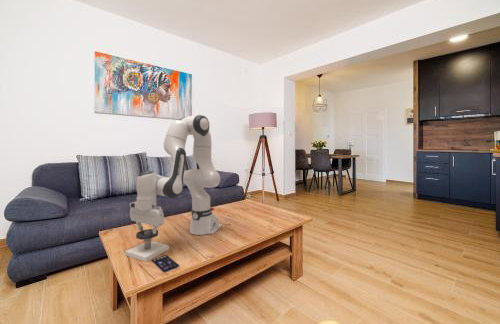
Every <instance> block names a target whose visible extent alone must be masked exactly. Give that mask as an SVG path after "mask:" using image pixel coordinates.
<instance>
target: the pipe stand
mask: <svg viewBox="0 0 500 324" xmlns="http://www.w3.org/2000/svg"><path fill="white" fill-rule="evenodd" d="M147 234H151V231H145V232H144V235H147ZM168 250H170V246H169V245H168V244H164V243H160V242H157V241H153V240H152V238H150V239H144V240H143V243H141V244H138V245H137V246H134V247H132V248H130V249H128V250H127V249H126V250H125V253H124V254H125V256H127V257H129V258H134V259H136V260H139V261H141V262H144V263H145V262H148V261H151V260H152V259H155V258H157V256H159V255H162V254H163V253H165V252H167V251H168Z"/></svg>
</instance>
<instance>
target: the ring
mask: <svg viewBox="0 0 500 324" xmlns="http://www.w3.org/2000/svg"><path fill="white" fill-rule="evenodd" d="M151 230H153V228H149V229H143V230H141V231H140V230H139V231H138V232H136V235H135V236H136V237H135V238H136V239H138V240H142V241H144V239H150V238H151V239H153V238H156V237H158V235H159V229H157V230H156V233H155V234H152V233H151V234H147V235H144V232H145V231H151Z"/></svg>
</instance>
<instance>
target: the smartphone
mask: <svg viewBox="0 0 500 324" xmlns="http://www.w3.org/2000/svg"><path fill="white" fill-rule="evenodd" d="M150 261H151V263H153V264H154V266H155V267H156V268H157V269H159V270H160V271H161V272H162V274H163V273H164V274H166V273H168V272H171V271H173V270H176V269H179V268H180V266H181V265H180V264H179V263H177V262H176V261H175V260H174V259H172V258H171V257H170V256H169V255H167V254H164V255H160V256H158V257H157V256H156V257H154V258H152V259H150Z"/></svg>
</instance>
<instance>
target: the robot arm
mask: <svg viewBox="0 0 500 324" xmlns="http://www.w3.org/2000/svg"><path fill="white" fill-rule="evenodd" d="M166 131H167V132H166V133H165V137H164V141H163V149H164V151H165V152H166V154H168V155H169V156H171V158H172V168H171V174H170V176H169V177H168V176H163V175H160V174H158V173H156V172H154V171H153V170H148V171H142V172H140V173H138V174H137V177H136V184H135V185H136V188H135V189H136V193H137V196H136V201H133V202H129V207H130V208H129V217H130V221H132V222H136V226H137V230H138V231H139V232H140V231H142V230H144V226H143V224H145V225H149V226H152V229H153V230H151V233H152V234H155V233H156V230H158V228H159V227H160V226H163V225H164V224H165V214H164V209H162V207H161V206H160V205H158V206H157V196H163V197H167V198H170V199H175V198H176V199H177V198H178V197H179V196H180V195H181V194H182V192H183V190H184V185H186V187H187V188H188V189H189V193H190V196H191V204H192V205H191V207H192V208H191V216H190V225H189V229H188V230H189V233H190V234H192V235H197V236H204V235H210V234H212V235H213V234H215V233H216V232H217V231H218V230H219V229H221V227H223V224H222V223H221V222H219V218H218V216H217V215H215V214H213V212H214V211H215V208H214V207H211V195H210V194H209V193H208V192H206V190H205V188H209V189H212V188H216V187H218V186H219V184H221V175H220V173H219V172H218V171H217V170H216V168H215V167H214V165H213V162H212V135H211V132H210V121H209V119H208V118H207V117H206V115H202V114H201V115H200V114H198V115H189V116H186V117H182V118H179V120H177V119H176V120H173V121H172V122H171V123H170V125H169V126H168V129H167V130H166ZM188 136H192V137H193V148H192V149H193V150H192V159H193V161H194V162H195V163H196V164H197V165H198V169H196V168H192V169H188V170H187V169H186V167H185V166H186V162H187V151H186V144H187V141H188V140H187V138H188ZM185 169H186V170H185Z"/></svg>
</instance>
